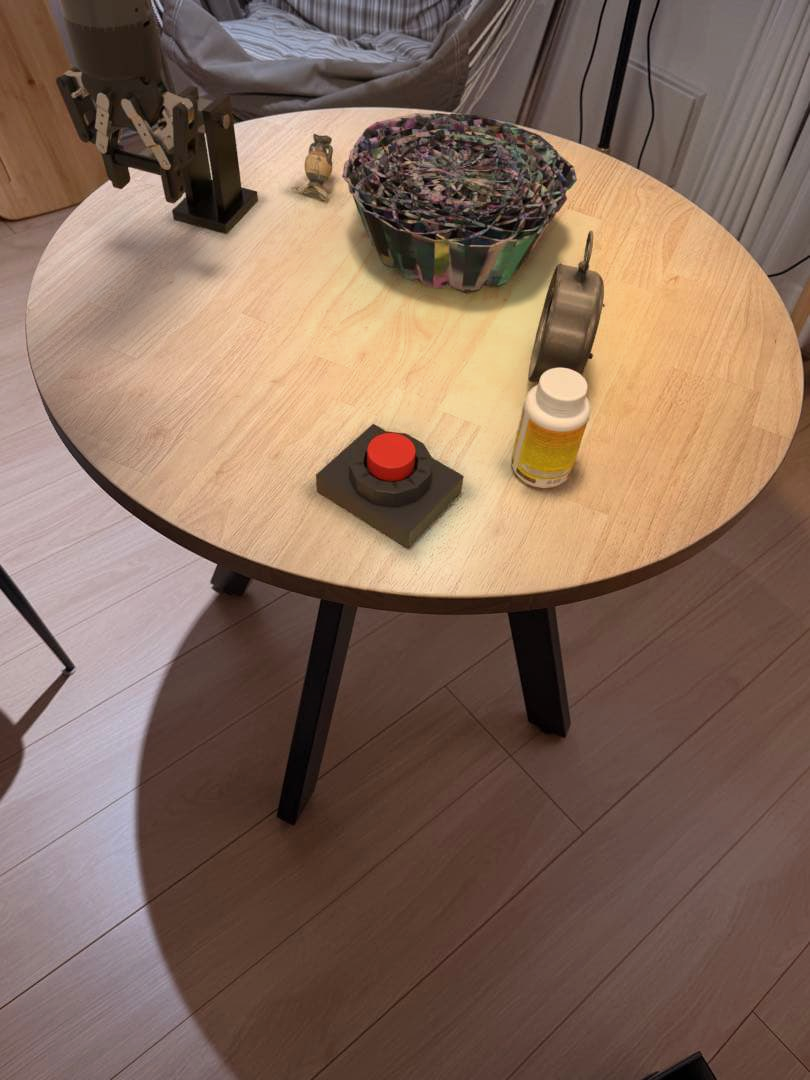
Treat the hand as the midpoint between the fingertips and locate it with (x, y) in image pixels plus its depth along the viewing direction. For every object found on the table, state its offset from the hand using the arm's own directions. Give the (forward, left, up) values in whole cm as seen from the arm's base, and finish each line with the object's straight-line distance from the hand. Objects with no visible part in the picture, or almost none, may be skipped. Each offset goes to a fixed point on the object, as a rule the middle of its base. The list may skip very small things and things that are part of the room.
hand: (148, 191), depth 81 cm
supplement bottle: (0, -49, -9) cm, 49 cm away
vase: (+23, -3, -9) cm, 25 cm away
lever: (+6, +2, +2) cm, 6 cm away
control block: (-11, -40, -8) cm, 42 cm away
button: (-11, -40, -5) cm, 41 cm away
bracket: (+11, +3, -8) cm, 15 cm away
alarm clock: (+11, -44, -9) cm, 46 cm away
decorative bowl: (+25, -22, -9) cm, 34 cm away
